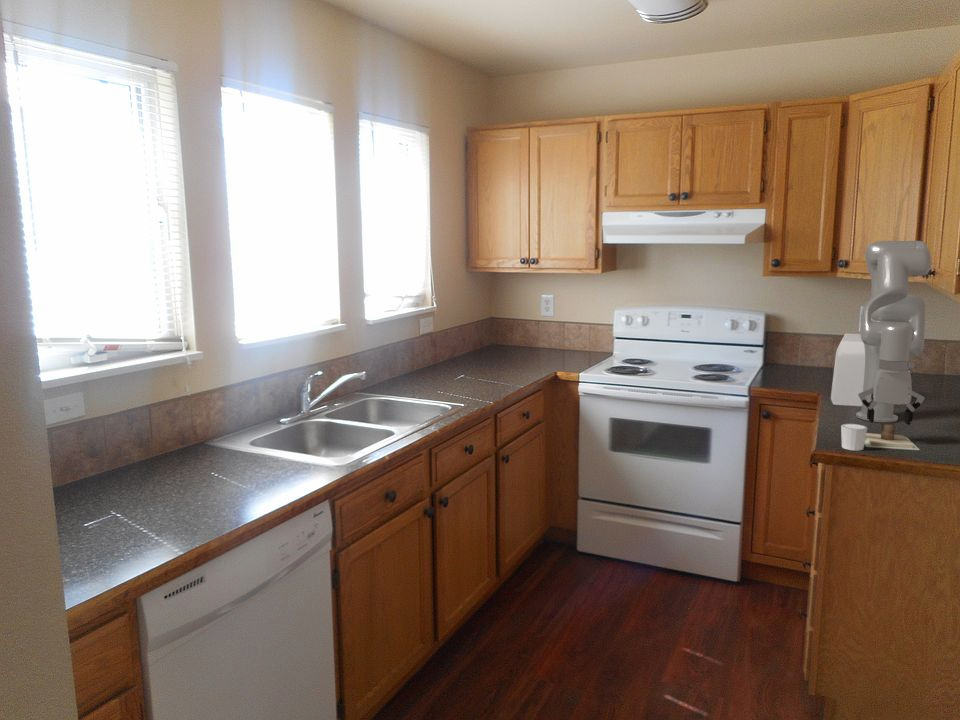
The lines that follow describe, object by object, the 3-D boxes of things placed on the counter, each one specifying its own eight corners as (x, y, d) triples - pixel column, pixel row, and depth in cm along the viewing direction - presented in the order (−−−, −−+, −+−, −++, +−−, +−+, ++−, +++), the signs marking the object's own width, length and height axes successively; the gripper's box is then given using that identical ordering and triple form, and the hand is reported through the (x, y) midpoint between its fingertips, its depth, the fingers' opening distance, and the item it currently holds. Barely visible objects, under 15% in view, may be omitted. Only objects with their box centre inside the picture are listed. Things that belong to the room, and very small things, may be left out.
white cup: (842, 444, 214) (844, 422, 213) (868, 448, 210) (869, 425, 209) (836, 450, 209) (838, 426, 208) (862, 454, 205) (864, 430, 204)
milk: (833, 404, 267) (837, 335, 262) (830, 398, 277) (835, 331, 273) (869, 406, 262) (874, 336, 258) (865, 400, 273) (870, 332, 269)
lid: (862, 436, 222) (864, 418, 221) (902, 438, 218) (904, 420, 218) (870, 445, 211) (872, 427, 210) (912, 448, 208) (914, 429, 207)
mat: (856, 436, 224) (856, 434, 224) (907, 439, 220) (907, 437, 219) (866, 448, 210) (866, 446, 210) (920, 451, 206) (920, 450, 206)
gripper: (922, 365, 212) (918, 421, 214) (858, 363, 217) (854, 418, 219) (930, 369, 205) (925, 427, 207) (863, 366, 210) (859, 423, 212)
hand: (888, 422), depth 213 cm, fingers open, 9 cm apart
